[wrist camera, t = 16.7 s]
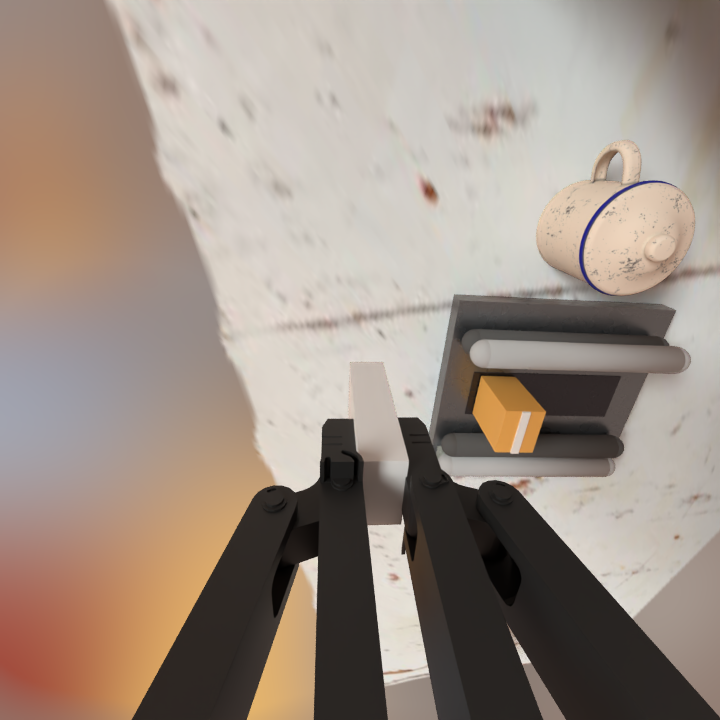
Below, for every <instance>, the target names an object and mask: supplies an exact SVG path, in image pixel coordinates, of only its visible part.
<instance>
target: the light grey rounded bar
mask: <svg viewBox="0 0 720 720" xmlns="http://www.w3.org/2000/svg"><path fill="white" fill-rule="evenodd" d="M462 347H463V349H464V351H465V352H466V353H467V354H469V355H470V358H471V360H472V362H473V363H474V364H475V365H476V366H478V367H481V368H498V369H532V370H566V371H600V372H633V373H667V374H676V373H680V372H683V371H684V370H686V369H687V368H688V367H689V365H690V363H691V357H690V355H689V353H688V352H687V351H686V350H684V349H683V348H680V347H675V346H669V343H668V342H667V341H666V340H665V339H664V338H661V337H658V336H642V335H617V334H591V333H566V332H541V331H515V330H490V329H472V330H469V331H468V332H466V333H465V334H464V336H463V338H462Z"/></svg>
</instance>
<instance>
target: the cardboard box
mask: <svg viewBox="0 0 720 720" xmlns="http://www.w3.org/2000/svg"><path fill="white" fill-rule="evenodd" d="M545 414H546V411H545V410H544V409H543V408H542V407H541V405H540V404H539V403H538V402H537V401H536V400H535V399H534V397H533V396H532V395H531V394H530V393H529V392H528V391H527V389H526V388H525V387H524V386H523V385H522V384H521V383H520V381H519V380H518V379H517V378H516V377H504V376H481V379H480V383H479V387H478V392H477V396H476V400H475V404H474V409H473V415H474V417H475V418H476V420H477V422H478V424H479V425H480V427H481V429H482V431H483V432H484V434H485V436H486V438H487V439H488V441H489V443H490V445H491V446H492V448H493V450H494V452H510V453H511V454H518V453H519V452H520V453H533V450H534V447H535V444H536V441H537V438H538V435H539V432H540V429H541V426H542V423H543V420H544V417H545Z"/></svg>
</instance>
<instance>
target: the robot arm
mask: <svg viewBox="0 0 720 720" xmlns="http://www.w3.org/2000/svg"><path fill="white" fill-rule="evenodd" d="M348 416H349V419H327V421H326V422H325V424H324V425H323V427H322V453H321V461H320V478H319V479H318V481H317V482H316V483H315V484H314V485H313V486H311V487H310V488H308V489H305V490H303V491H299V492H296V493H295V492H294V491H292V490H291V489H290V488H288V487H285V486H270V487H267V488H264V489H263V490H261V491H259V492H258V493H257V494H256V495H255V496H254V498H253V499H252V501H251V503H250V505H249V507H248V508H247V510H246V512H245V514H244V516H243V517H242V519H241V521H240V523H239V525H238V526H237V529H236V530H235V532H234V534H233V536H232V537H231V540H230V541H229V543H228V545H227V547H226V549H225V550H224V552H223V554H222V556H221V558H220V559H219V561H218V563H217V565H216V567H215V569H214V570H213V572H212V574H211V576H210V578H209V580H208V581H207V583H206V585H205V587H204V589H203V590H202V592H201V595H200V596H199V598H198V600H197V602H196V603H195V605H194V607H193V609H192V611H191V613H190V614H189V616H188V618H187V620H186V622H185V623H184V625H183V627H182V629H181V631H180V633H179V635H178V636H177V638H176V640H175V642H174V644H173V646H172V647H171V649H170V651H169V653H168V655H167V656H166V658H165V660H164V662H163V664H162V665H161V667H160V669H159V671H158V673H157V675H156V676H155V678H154V680H153V682H152V684H151V686H150V687H149V689H148V691H147V693H146V695H145V697H144V698H143V700H142V702H141V704H140V706H139V708H138V709H137V711H136V713H135V715H134V717H133V718H132V720H247V717H248V714H249V711H250V708H251V705H252V702H253V699H254V696H255V693H256V690H257V688H258V684H259V681H260V679H261V675H262V673H263V670H264V667H265V664H266V661H267V658H268V655H269V652H270V649H271V646H272V643H273V640H274V637H275V635H276V632H277V629H278V625H279V623H280V620H281V617H282V614H283V611H284V608H285V605H286V602H287V599H288V596H289V593H290V590H291V587H292V585H293V582H294V579H295V576H296V572H297V570H298V567H299V563H300V562H303V561H306V560H309V559H311V558H314V557H317V556H318V584H317V622H316V660H315V697H314V720H388V717H387V707H386V698H385V688H384V679H383V669H382V660H381V651H380V641H379V632H378V622H377V613H376V603H375V594H374V584H373V575H372V565H371V556H370V546H369V537H368V528H367V525H393V524H401V521H402V514H403V519H404V524H405V527H404V535H403V543H402V554H405V550H406V553H407V559H408V564H409V569H410V574H411V580H412V585H413V590H414V595H415V600H416V606H417V611H418V616H419V621H420V627H421V632H422V637H423V642H424V647H425V653H426V658H427V663H428V668H429V673H430V679H431V684H432V689H433V694H434V699H435V705H436V710H437V715H438V720H543V718H542V716H541V713H540V710H539V708H538V705H537V702H536V700H535V697H534V694H533V692H532V689H531V686H530V684H529V681H528V679H527V676H526V673H525V671H524V668H523V665H522V663H521V660H520V657H519V655H518V652H517V650H516V647H515V644H514V642H513V639H512V636H511V634H510V631H509V628H508V626H509V627H510V629H511V630H512V632H513V634H514V635H515V637H516V639H517V640H518V642H519V643H520V645H521V647H522V648H523V650H524V652H525V653H526V655H527V657H528V658H529V660H530V661H531V663H532V665H533V666H534V668H535V670H536V671H537V673H538V674H539V676H540V678H541V679H542V681H543V683H544V684H545V686H546V688H547V689H548V691H549V692H550V694H551V696H552V697H553V699H554V701H555V702H556V704H557V705H558V707H559V709H560V710H561V712H562V714H563V715H564V717H565V719H566V720H720V717H719V716H718V715H717V714H716V713H715V712H714V710H713V709H712V708H711V707H710V706H709V705H708V704H707V702H706V701H705V700H704V699H703V698H702V697H701V696H700V695H699V694H698V692H697V691H696V690H695V689H694V688H693V687H692V686H691V684H690V683H689V682H688V681H687V680H686V679H685V678H684V677H683V676H682V674H681V673H680V672H679V671H678V670H677V669H676V668H675V666H674V665H673V664H672V663H671V662H670V661H669V660H668V659H667V658H666V656H665V655H664V654H663V653H662V652H661V651H660V650H659V648H658V647H657V646H656V645H655V644H654V643H653V642H652V641H651V640H650V638H649V637H648V636H647V635H646V634H645V633H644V632H643V630H641V628H640V627H639V626H638V625H637V624H636V623H635V621H634V620H633V619H632V618H631V617H630V616H629V615H628V614H627V612H626V611H625V610H624V609H623V608H622V607H621V606H620V605H619V603H618V602H617V601H616V600H615V599H614V598H613V597H612V596H611V594H610V593H609V592H608V591H607V590H606V589H605V588H604V587H603V585H602V584H601V583H600V582H599V581H598V580H597V579H596V578H595V576H594V575H593V574H592V573H591V572H590V571H589V570H588V569H587V567H586V566H585V565H584V564H583V563H582V562H581V561H580V560H579V558H578V557H577V556H576V555H575V554H574V553H573V552H572V551H571V549H570V548H569V547H568V546H567V545H566V544H565V543H564V542H563V540H562V539H561V538H560V537H559V536H558V535H557V534H556V533H555V531H554V530H553V529H552V528H551V527H550V526H549V525H548V524H547V522H546V521H545V520H544V519H543V518H542V517H541V516H540V515H539V513H538V512H537V511H536V510H535V509H534V508H533V507H532V506H531V504H530V503H529V502H528V501H527V500H526V499H525V498H524V497H523V495H522V494H521V493H520V492H519V491H518V490H517V489H515V488H514V487H513V486H511V485H509V484H507V483H505V482H501V481H497V480H493V481H487V482H484V483H482V485H481V486H480V487H479V490H478V489H474V488H470V487H465V486H462V485H459V484H457V483H455V482H453V481H452V479H451V477H450V476H449V474H447V473H446V472H445V471H443V470H442V469H441V467H440V464H439V461H438V458H437V456H436V453H435V450H434V447H433V445H432V443H431V439H430V436H429V433H428V431H427V428H426V425H425V424H424V423H423V422H422V421H421V420H420V419H419V418H398V417H397V413H396V410H395V406H394V402H393V398H392V394H391V391H390V387H389V383H388V379H387V375H386V372H385V368H384V364H383V362H350V374H349V404H348ZM506 622H507V623H506ZM507 624H508V626H507Z"/></svg>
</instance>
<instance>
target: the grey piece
mask: <svg viewBox="0 0 720 720" xmlns="http://www.w3.org/2000/svg"><path fill="white" fill-rule="evenodd" d="M441 448H442V450H443V452H444V454H442V455H441V456H440V457H439V458H438V461H439V464H440V467H441V469H442V470H443V471H445V472H446V473H447V474H449V476H515V477H606V476H610V475H611V474H612V473H613V472H614V471H615V463H614V461H613V460H612V458H616V457H619V456H620V455H621V454H622V453H623V451H624V445H623V442H622V441H621V440H620V439H619V438H618V437H616V436H613V435H580V434H539V435H538V438H537V441H536V444H535V447H534V450H533V453H520V452H519V453H518V454H511V453H510V452H494V450H493V448H492V446H491V445H490V443H489V441H488V439H487V438H486V436H485V434H484V433H449V434H447V435H445V436H444V437H443V439H442V441H441Z"/></svg>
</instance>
